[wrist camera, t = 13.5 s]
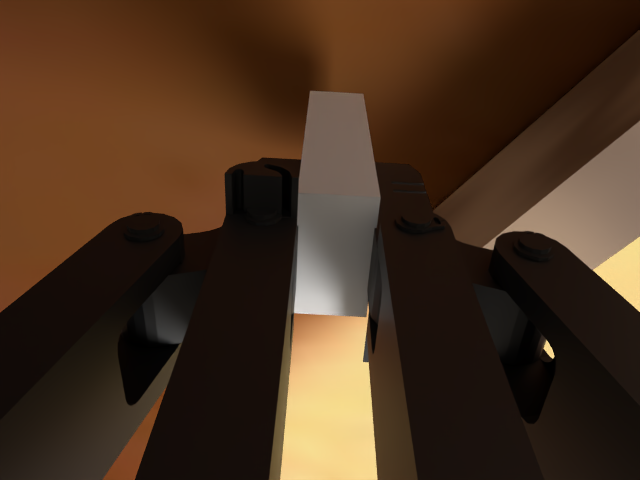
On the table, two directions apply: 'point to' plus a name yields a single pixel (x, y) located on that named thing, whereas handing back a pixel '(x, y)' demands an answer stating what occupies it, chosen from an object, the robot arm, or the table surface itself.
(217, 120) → the table surface
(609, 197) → the brown long bar
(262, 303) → the robot arm
